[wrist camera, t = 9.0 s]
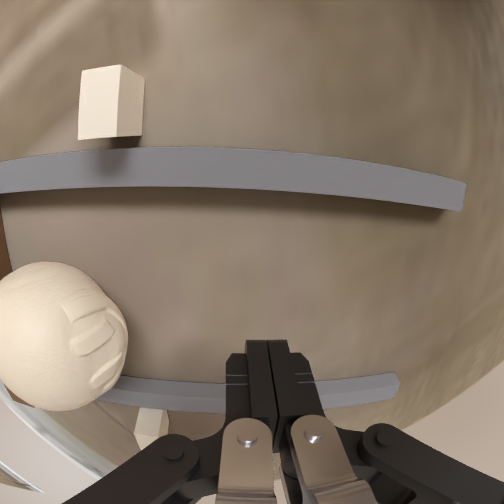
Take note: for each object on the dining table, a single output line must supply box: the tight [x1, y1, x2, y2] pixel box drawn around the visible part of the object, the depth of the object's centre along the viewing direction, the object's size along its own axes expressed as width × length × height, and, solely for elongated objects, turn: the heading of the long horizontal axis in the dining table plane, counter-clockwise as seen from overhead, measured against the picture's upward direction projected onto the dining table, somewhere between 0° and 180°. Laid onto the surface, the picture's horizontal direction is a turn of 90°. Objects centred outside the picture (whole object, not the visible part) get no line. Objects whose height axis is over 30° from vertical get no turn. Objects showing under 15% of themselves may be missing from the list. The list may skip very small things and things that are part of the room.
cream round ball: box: [0, 261, 128, 411], centre depth 11 cm, size 7×7×7 cm
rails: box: [0, 146, 467, 413], centre depth 14 cm, size 24×14×1 cm, turn 86°
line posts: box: [78, 65, 169, 450], centre depth 13 cm, size 2×20×3 cm, turn 176°
